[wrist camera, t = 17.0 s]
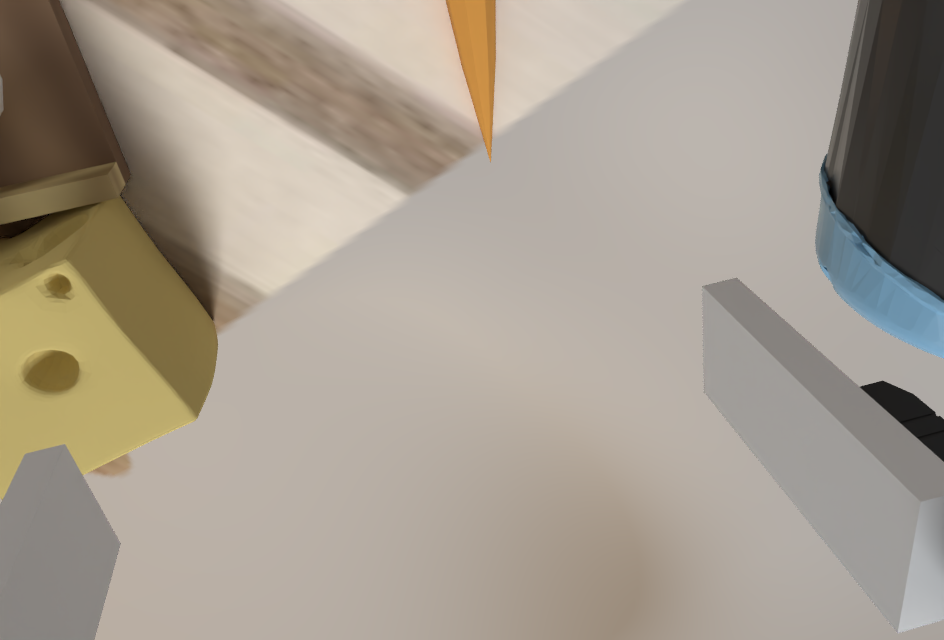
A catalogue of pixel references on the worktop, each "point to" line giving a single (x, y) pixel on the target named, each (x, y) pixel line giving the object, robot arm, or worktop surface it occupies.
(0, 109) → the foam cup
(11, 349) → the cheese
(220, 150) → the worktop surface
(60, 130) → the rack
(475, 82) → the carrot
